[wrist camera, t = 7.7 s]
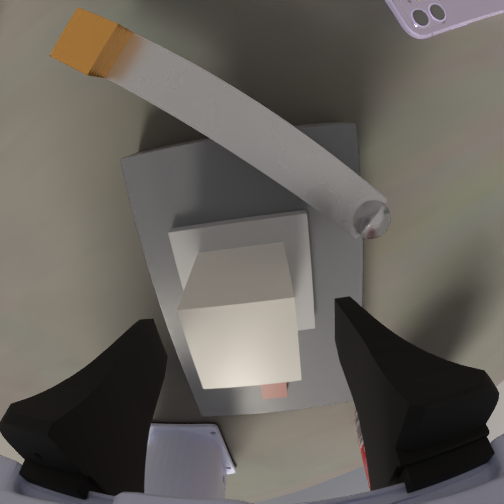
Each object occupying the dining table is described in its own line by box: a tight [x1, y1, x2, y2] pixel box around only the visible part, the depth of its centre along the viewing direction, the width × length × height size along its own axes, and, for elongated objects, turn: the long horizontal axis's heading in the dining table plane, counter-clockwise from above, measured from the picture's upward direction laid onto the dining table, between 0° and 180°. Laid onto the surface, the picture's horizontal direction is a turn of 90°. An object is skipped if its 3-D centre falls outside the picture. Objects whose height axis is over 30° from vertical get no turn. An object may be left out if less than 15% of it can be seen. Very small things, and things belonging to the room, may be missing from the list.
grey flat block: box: [120, 121, 363, 417], centre depth 18 cm, size 18×11×3 cm, turn 8°
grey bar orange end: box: [50, 8, 391, 239], centre depth 11 cm, size 2×15×4 cm, turn 56°
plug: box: [168, 210, 315, 389], centre depth 15 cm, size 6×6×8 cm
